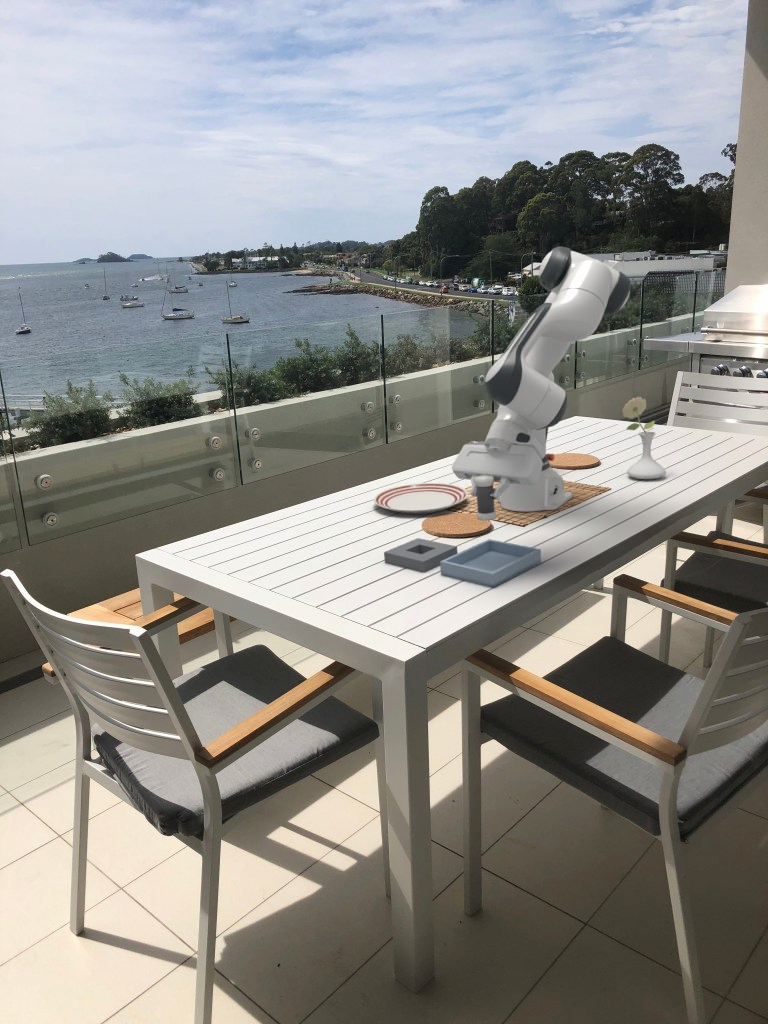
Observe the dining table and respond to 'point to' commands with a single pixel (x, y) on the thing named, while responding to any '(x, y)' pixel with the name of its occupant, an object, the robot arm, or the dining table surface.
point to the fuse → (485, 498)
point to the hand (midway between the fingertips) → (484, 496)
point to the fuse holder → (419, 554)
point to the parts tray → (490, 562)
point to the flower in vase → (646, 464)
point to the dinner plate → (421, 497)
